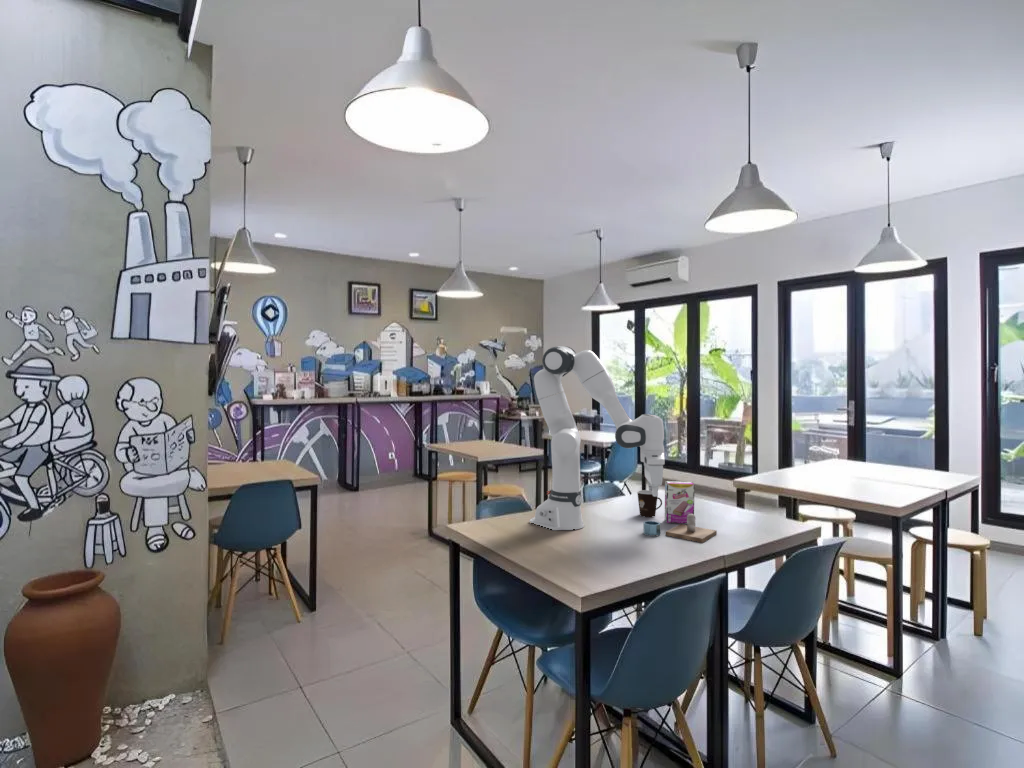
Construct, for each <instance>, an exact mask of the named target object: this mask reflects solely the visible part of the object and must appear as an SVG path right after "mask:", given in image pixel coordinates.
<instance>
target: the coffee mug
mask: <svg viewBox="0 0 1024 768" xmlns="http://www.w3.org/2000/svg"><path fill="white" fill-rule="evenodd" d="M658 496H659V495H658ZM658 496H653V495H652V491H649V489H644V490H643V489H642V490H637V500H638V509H639V510H638V511H639V516H640V515H641V517H643V516H645V517H644V518H653V517H652V516H655V517H656V513H657V510H658V509H660V508H661V506H662V505H663V500H662V499H661V498H660V497H658ZM658 501H659V503H660V504H659V506H658V507H657V505H658V504H657V503H658Z"/></svg>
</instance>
